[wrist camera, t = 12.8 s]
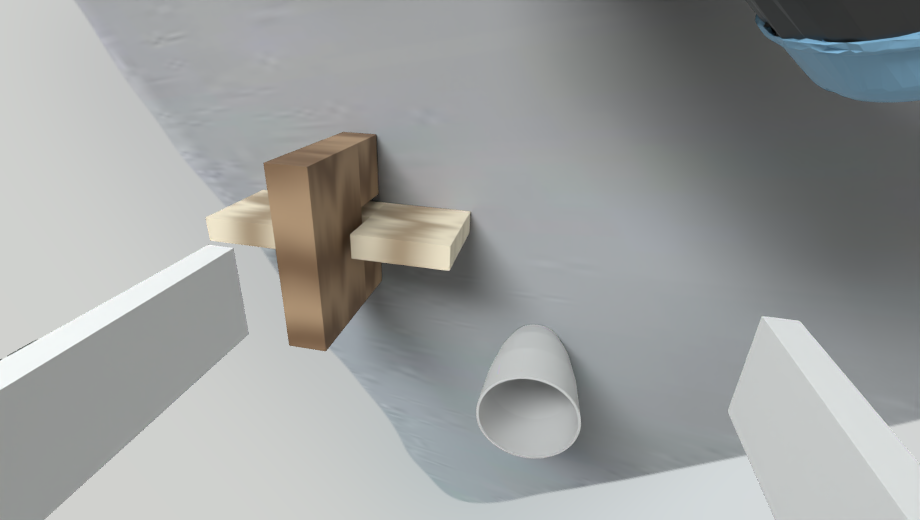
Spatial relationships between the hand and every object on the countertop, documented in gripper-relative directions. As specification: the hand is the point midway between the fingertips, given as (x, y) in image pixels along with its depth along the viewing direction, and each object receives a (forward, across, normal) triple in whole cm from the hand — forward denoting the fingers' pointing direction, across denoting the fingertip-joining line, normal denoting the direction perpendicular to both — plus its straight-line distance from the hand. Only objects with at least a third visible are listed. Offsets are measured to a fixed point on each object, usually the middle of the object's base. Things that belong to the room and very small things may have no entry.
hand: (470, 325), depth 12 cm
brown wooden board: (+29, -15, -8) cm, 33 cm away
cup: (+29, +2, -20) cm, 35 cm away
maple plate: (+29, -15, -8) cm, 33 cm away
